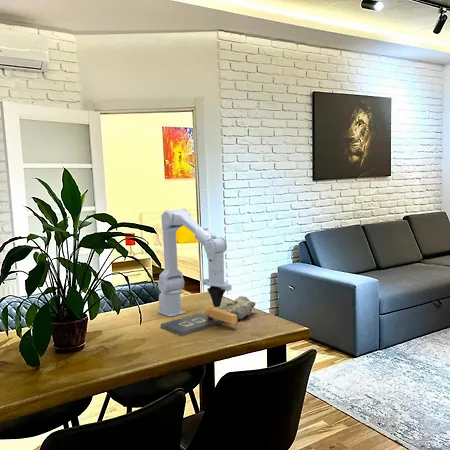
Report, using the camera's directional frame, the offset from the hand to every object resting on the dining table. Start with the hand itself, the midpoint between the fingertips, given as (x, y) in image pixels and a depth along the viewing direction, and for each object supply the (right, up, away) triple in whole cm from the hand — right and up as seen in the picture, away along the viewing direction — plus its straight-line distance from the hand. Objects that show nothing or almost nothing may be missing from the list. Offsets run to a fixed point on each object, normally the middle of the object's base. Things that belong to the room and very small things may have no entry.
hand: (217, 306), depth 172 cm
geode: (+7, -7, +14) cm, 17 cm away
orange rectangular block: (+1, -5, +4) cm, 7 cm away
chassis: (-10, -8, +4) cm, 13 cm away
